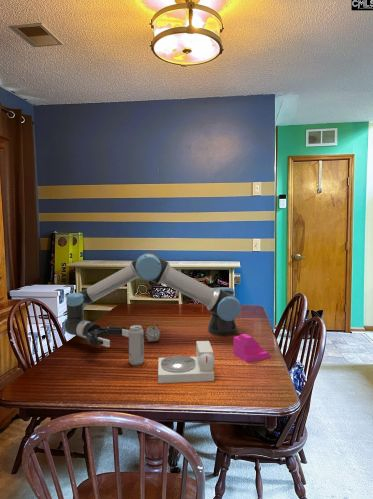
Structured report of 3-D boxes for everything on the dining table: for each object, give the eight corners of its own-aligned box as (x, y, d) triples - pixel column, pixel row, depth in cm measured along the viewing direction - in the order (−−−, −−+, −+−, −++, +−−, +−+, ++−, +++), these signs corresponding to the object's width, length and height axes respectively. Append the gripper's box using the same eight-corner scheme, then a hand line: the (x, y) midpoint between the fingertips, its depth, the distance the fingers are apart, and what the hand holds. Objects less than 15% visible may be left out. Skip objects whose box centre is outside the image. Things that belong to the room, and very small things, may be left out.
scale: (209, 363, 142) (209, 339, 141) (215, 380, 126) (215, 353, 125) (158, 365, 141) (158, 340, 140) (158, 383, 125) (157, 355, 124)
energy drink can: (130, 360, 146) (130, 324, 145) (145, 360, 146) (144, 324, 145) (127, 365, 140) (127, 329, 139) (142, 365, 140) (142, 329, 139)
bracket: (246, 362, 143) (247, 338, 142) (233, 354, 152) (233, 331, 151) (271, 358, 147) (271, 334, 147) (256, 349, 157) (256, 327, 156)
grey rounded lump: (155, 350, 167) (158, 338, 161) (139, 343, 168) (141, 330, 162) (163, 336, 174) (166, 324, 168) (147, 329, 175) (150, 317, 169)
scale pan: (193, 357, 140) (193, 354, 140) (197, 371, 127) (197, 368, 127) (161, 359, 139) (161, 356, 139) (161, 373, 126) (161, 369, 126)
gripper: (110, 331, 170) (142, 339, 157) (65, 346, 150) (98, 357, 137) (109, 316, 169) (142, 323, 157) (64, 329, 149) (97, 338, 137)
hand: (121, 339), depth 147 cm, fingers open, 13 cm apart
